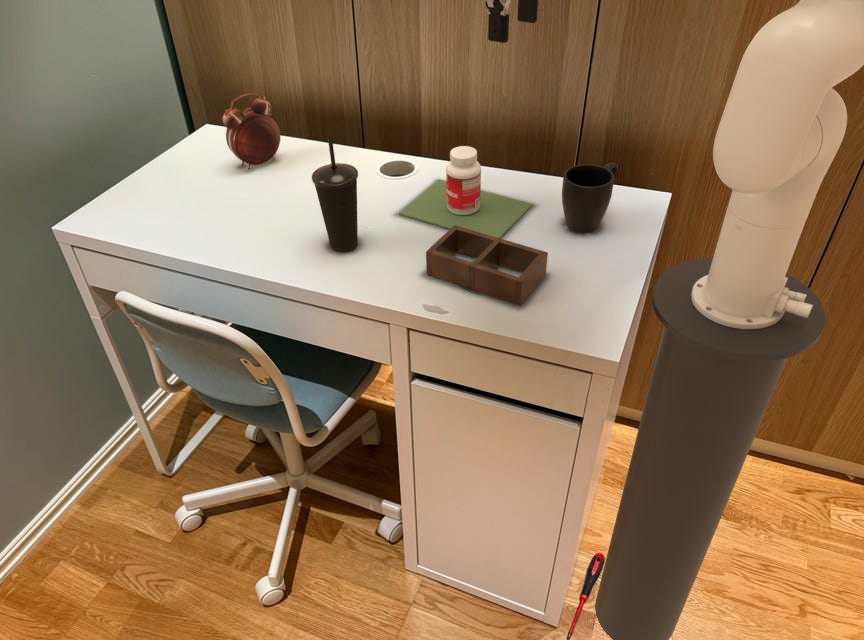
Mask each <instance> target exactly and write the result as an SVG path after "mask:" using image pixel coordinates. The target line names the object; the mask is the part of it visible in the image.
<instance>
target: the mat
mask: <svg viewBox="0 0 864 640" xmlns="http://www.w3.org/2000/svg"><path fill="white" fill-rule="evenodd" d="M532 207H533V204H532V203H529V202H526V201H523V200H518V199H515V198H511V197H507V196H504V195H499V194H495V193H492V192H487V191H484V190H481V202H480V208H479V210H478V211H477V212H475V213H473V214H470V215H455V214H453V213H451V212H450V211H449V210H448V208H447V192H446V180H442V179H437V180H436V181H435V182H434V183H433V184H432V185H430V187H428V188H427V189H426V190H425V191H423V192H422V193H421V194H420V195H419V196H418V197H416V198H415V199H414V200H412V201H411V202H410V203H409V204H408V205H406V206H405V207H404V208H403V209H402V210H400V212H398V214H399V215H400V216H403V217H406V218H410V219H413V220H416V221H420V222H424V223H427V224H430V225H433V226H435V227H436V226H437V227H440V228H443V229H447V230H450V229H451V228H452V227H453V226H454V225H456V226H459V227H463V228H466V229H470V230H473V231H476V232H480V233H483V234H487V235H490V236H494V237H497V238H500V239H502V237H503V236H504V235H505V234H506V233H507V232H509V230H510V229H511V228H512V227H513V226H514V225H515V224H516V223H517V222H518V221H519V220H520V219H521V218H522V217H523V215H525V214H526V212H528V211H529V210H530V209H531V208H532Z"/></svg>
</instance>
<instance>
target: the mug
mask: <svg viewBox="0 0 864 640" xmlns="http://www.w3.org/2000/svg"><path fill="white" fill-rule="evenodd" d="M618 169H619V166H618V164H617V163H616V162H608V163H607V164H604V166H602V165H599V164H591V163H585V164H577V165H573V166H571V167H569V168H566V170H565V171H564V173H563V177H562V187H561V203H562V210H563V211H562V212H563V216H564V220H565V225H566V227H567V229H568V230H569V231H571V232H574V233H578V234H591V233H594V232H596V231H597V230H598V229H599V227H600V224H601V222H602V221H603V218H604V217H605V214H606V213H607V210H608V208H609V206H610V203H611V200H612V195H613V190H614V183H615V180H616V177H617V174H618Z"/></svg>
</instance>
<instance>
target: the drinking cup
mask: <svg viewBox="0 0 864 640" xmlns="http://www.w3.org/2000/svg"><path fill="white" fill-rule="evenodd" d="M327 140H328V141H327V142H328V150H329V156H330V157H329V158H330V163H329V164H325V165H323V166H320V167H318V168H316V169H315V170H314V171H313V172H312V174H311V182H312V183H313V184H314V187H315V190H316V191H315V192H316V196H317V199H318V203H319V206H320V211H321V215H322V219H323V223H324V226H325V230H326V234H327V238H328V242H329V245H330V249H331V250H332V251H334V252H337V253H348V252H351V251H353V250H355V249H356V248H357V246H358V244H359V240H358V239H359V237H358V233H359V231H358V230H359V229H358V178H359V171H358V169H357V168H356V167H355V166H354V165H351V164H348V163H342V162H340V163H339V162H338V163H337V162H336V158H335V149H334V142H333V136H328V137H327Z"/></svg>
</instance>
